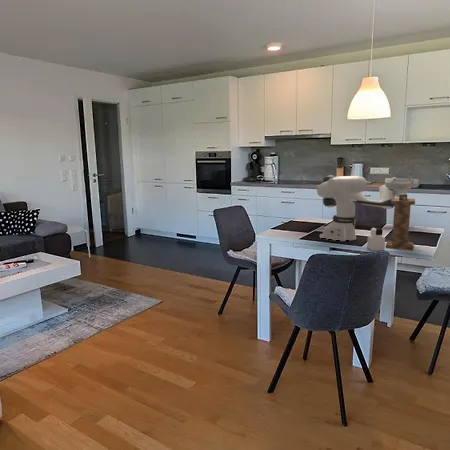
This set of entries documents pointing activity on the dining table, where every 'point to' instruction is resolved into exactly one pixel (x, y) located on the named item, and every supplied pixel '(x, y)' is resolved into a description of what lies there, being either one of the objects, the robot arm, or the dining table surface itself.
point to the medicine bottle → (376, 240)
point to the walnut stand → (401, 224)
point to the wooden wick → (403, 196)
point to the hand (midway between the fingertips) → (402, 178)
